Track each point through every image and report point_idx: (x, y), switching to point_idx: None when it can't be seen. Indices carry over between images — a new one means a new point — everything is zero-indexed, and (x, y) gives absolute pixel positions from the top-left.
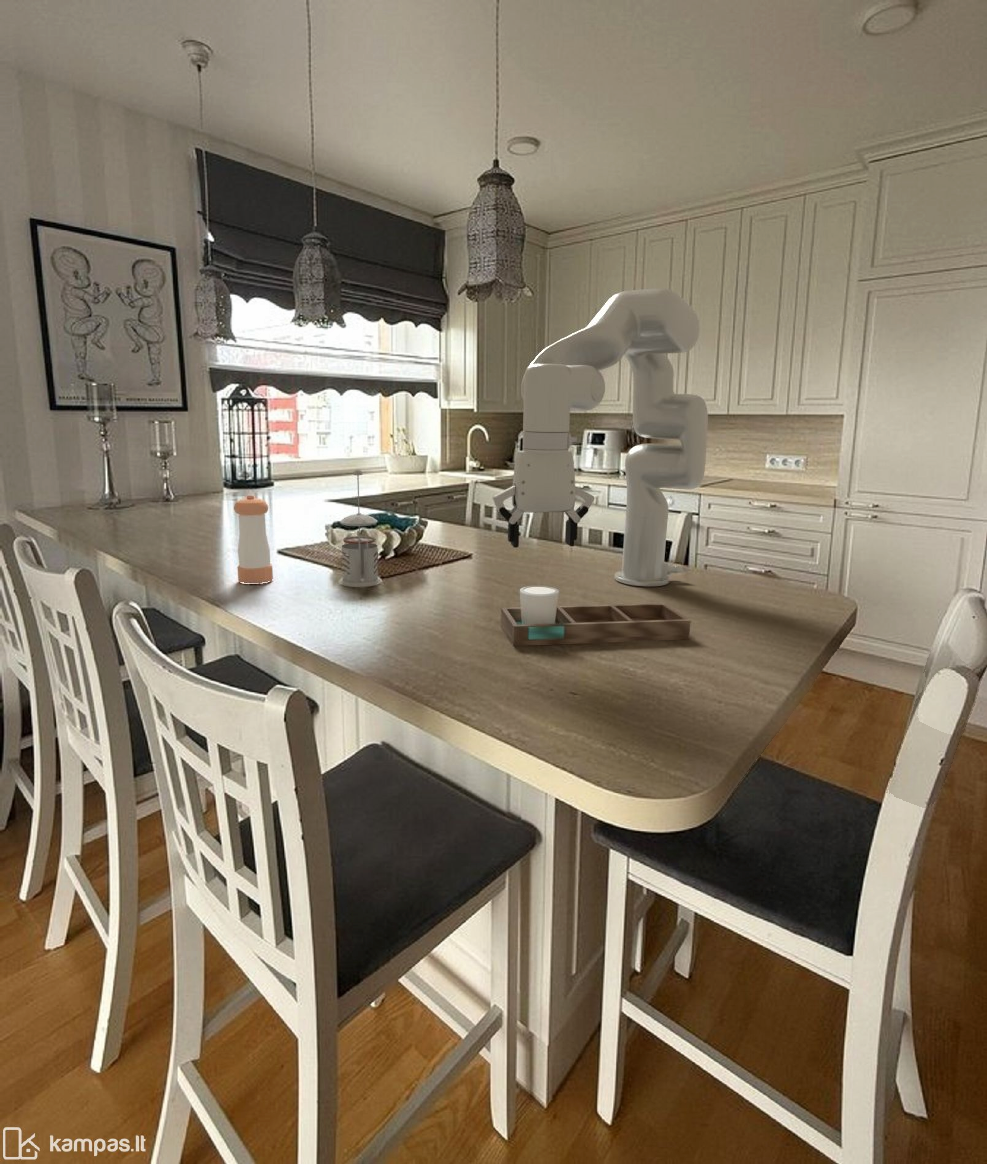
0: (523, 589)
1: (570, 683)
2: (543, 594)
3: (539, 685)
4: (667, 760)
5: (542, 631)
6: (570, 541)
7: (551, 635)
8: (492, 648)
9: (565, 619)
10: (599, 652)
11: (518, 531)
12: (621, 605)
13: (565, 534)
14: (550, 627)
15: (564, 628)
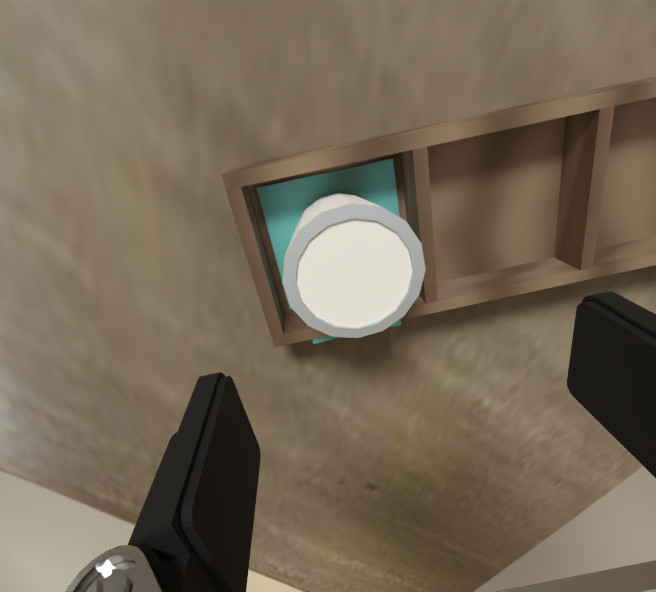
0: (296, 276)
1: (372, 461)
2: (363, 328)
3: (324, 472)
4: (435, 582)
5: None
6: (587, 406)
7: None
8: (232, 340)
9: None
10: (456, 335)
11: (246, 550)
12: (641, 97)
13: (623, 331)
14: None
15: None
